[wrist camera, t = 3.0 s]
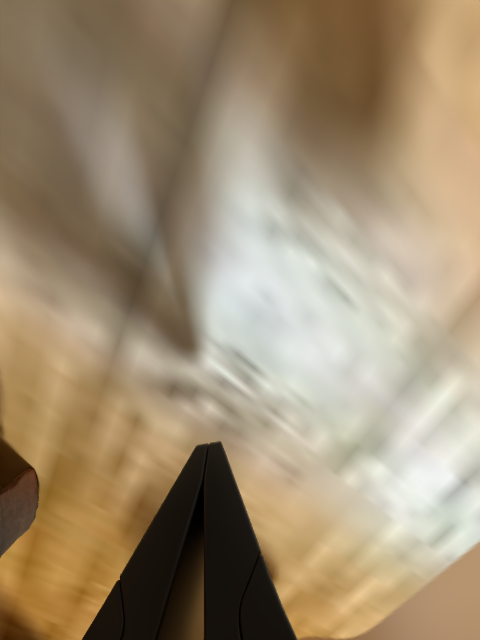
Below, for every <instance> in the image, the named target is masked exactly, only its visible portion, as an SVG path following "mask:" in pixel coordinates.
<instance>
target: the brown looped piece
mask: <svg viewBox="0 0 480 640" xmlns="http://www.w3.org/2000/svg"><path fill="white" fill-rule="evenodd" d="M38 500H39V494H38V485H37V479H36V474H35V471H34V469H30V468H29V469H26V470H24V471H23V472H21V473H20V474H19V475H18V476H17V477H16V478H15V479H14V480H13V481H12V482H11V483H10V484H9V485H7V486H6V487H5V488H4V489H3V490H0V557H1V556H2V555H3V554H4V553H5V552H6V551H7V550H8V549H9V547H10V546H11V545H12V544H13V543H14V542H15V541H16V540H17V539H18V538H19V537H20V536H21V535H23V534H24V533H25V532H26V531H27V530H28V529H29V528H30V526H31V524H32V522H33V521H34V519H35V517H36V510H37V508H38Z"/></svg>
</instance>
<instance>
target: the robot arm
mask: <svg viewBox="0 0 480 640" xmlns="http://www.w3.org/2000/svg"><path fill="white" fill-rule="evenodd" d="M82 640H298V639H297V637H296V635H295V633H294V631H293V628H292V626H291V624H290V622H289V619H288V617H287V615H286V613H285V611H284V608H283V606H282V604H281V601H280V599H279V596H278V594H277V591H276V589H275V586H274V584H273V581H272V579H271V576H270V573H269V571H268V568H267V565H266V562H265V560H264V557H263V555H262V552H261V549H260V546H259V544H258V541H257V538H256V535H255V533H254V530H253V527H252V524H251V522H250V519H249V516H248V514H247V511H246V508H245V505H244V503H243V500H242V497H241V494H240V492H239V489H238V486H237V483H236V481H235V478H234V475H233V472H232V470H231V467H230V464H229V461H228V459H227V456H226V453H225V450H224V448H223V445H222V443H221V442H220V441H218V442H212V443H210V444H201V445H197V446H196V447H195V449H194V451H193V452H192V454H191V456H190V457H189V459H188V461H187V463H186V464H185V466H184V468H183V469H182V471H181V473H180V475H179V476H178V478H177V480H176V481H175V483H174V485H173V486H172V488H171V490H170V492H169V493H168V495H167V497H166V498H165V500H164V502H163V504H162V505H161V507H160V509H159V510H158V512H157V514H156V516H155V517H154V519H153V521H152V522H151V524H150V526H149V527H148V529H147V531H146V533H145V534H144V536H143V538H142V539H141V541H140V543H139V545H138V546H137V548H136V550H135V551H134V553H133V555H132V557H131V558H130V560H129V562H128V563H127V565H126V567H125V568H124V570H123V572H122V574H121V575H120V580H118V581H117V582H116V584H115V585H114V587H113V589H112V590H111V592H110V594H109V596H108V597H107V599H106V601H105V602H104V604H103V606H102V607H101V609H100V611H99V612H98V614H97V616H96V617H95V619H94V620H93V622H92V624H91V625H90V627H89V629H88V630H87V632H86V634H85V635H84V637H83V639H82Z"/></svg>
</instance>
